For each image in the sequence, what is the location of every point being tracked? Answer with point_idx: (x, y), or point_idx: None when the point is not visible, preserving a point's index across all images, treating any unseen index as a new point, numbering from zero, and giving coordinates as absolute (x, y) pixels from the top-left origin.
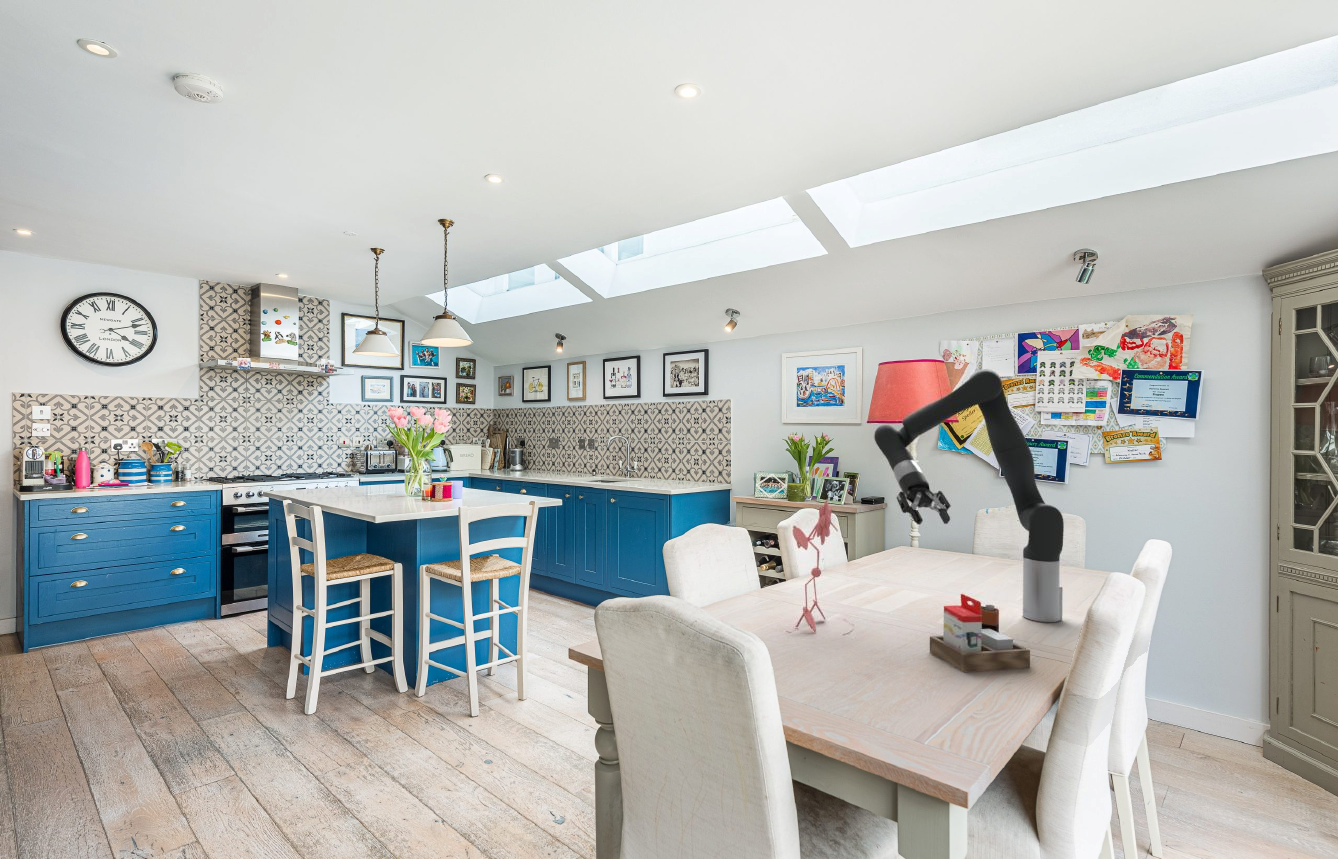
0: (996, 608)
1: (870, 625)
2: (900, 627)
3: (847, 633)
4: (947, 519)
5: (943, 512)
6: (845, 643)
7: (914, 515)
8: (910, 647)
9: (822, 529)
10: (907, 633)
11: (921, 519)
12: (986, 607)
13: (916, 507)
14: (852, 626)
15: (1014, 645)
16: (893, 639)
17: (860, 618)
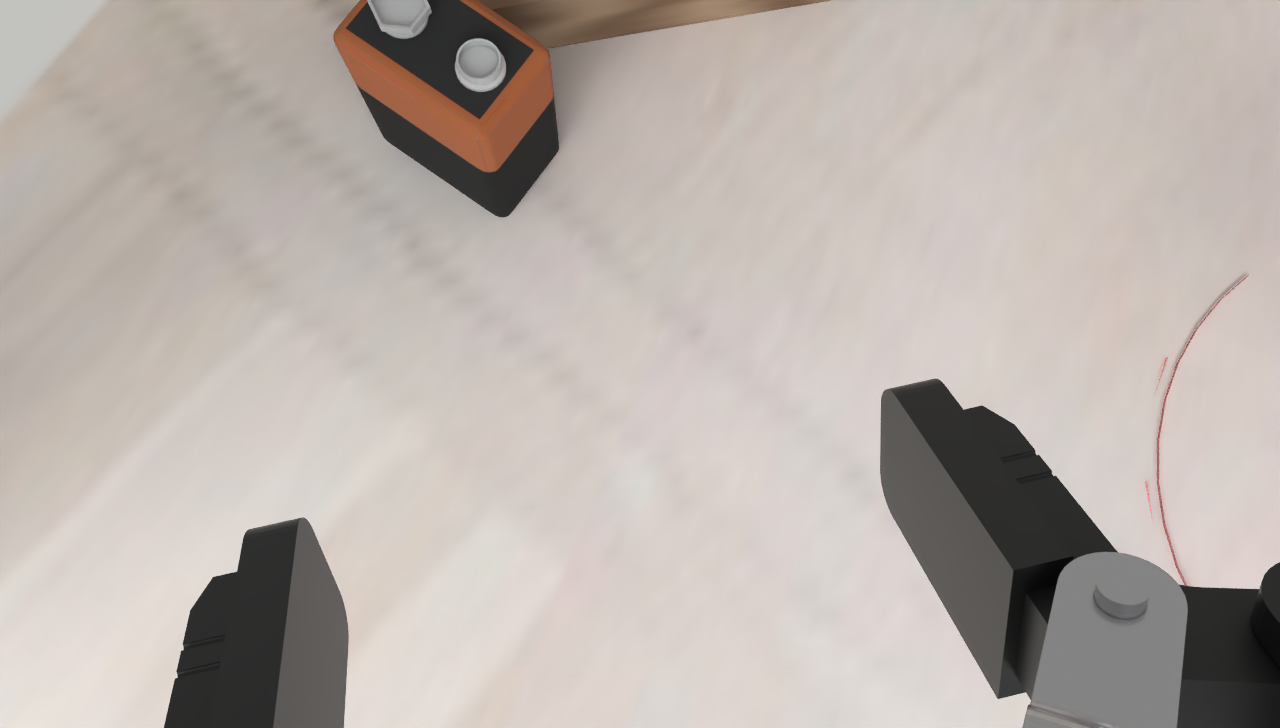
0: (345, 33)
1: None
2: (851, 447)
3: (1213, 308)
4: (305, 520)
5: (287, 681)
6: (1250, 137)
7: (1056, 494)
8: (909, 79)
9: None
10: (846, 324)
11: (914, 385)
12: (408, 52)
13: (1052, 623)
14: (1157, 455)
15: None
16: (964, 210)
17: None
